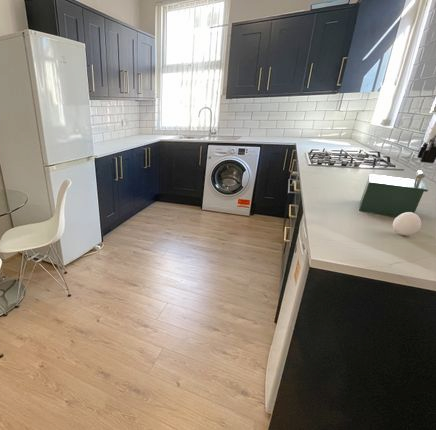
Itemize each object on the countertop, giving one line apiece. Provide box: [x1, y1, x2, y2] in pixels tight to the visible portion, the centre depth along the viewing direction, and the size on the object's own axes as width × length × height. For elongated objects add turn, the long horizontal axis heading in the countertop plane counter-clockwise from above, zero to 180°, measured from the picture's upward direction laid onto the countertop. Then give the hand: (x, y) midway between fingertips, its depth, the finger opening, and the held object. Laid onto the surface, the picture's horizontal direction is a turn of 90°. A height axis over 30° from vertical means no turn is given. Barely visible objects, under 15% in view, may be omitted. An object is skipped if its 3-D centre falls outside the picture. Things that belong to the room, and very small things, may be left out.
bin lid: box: [368, 170, 429, 193], centre depth 105 cm, size 15×16×5 cm
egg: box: [392, 212, 422, 236], centre depth 88 cm, size 6×6×8 cm
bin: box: [358, 177, 425, 218], centre depth 108 cm, size 15×16×11 cm
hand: (424, 160), depth 99 cm, fingers open, 9 cm apart
